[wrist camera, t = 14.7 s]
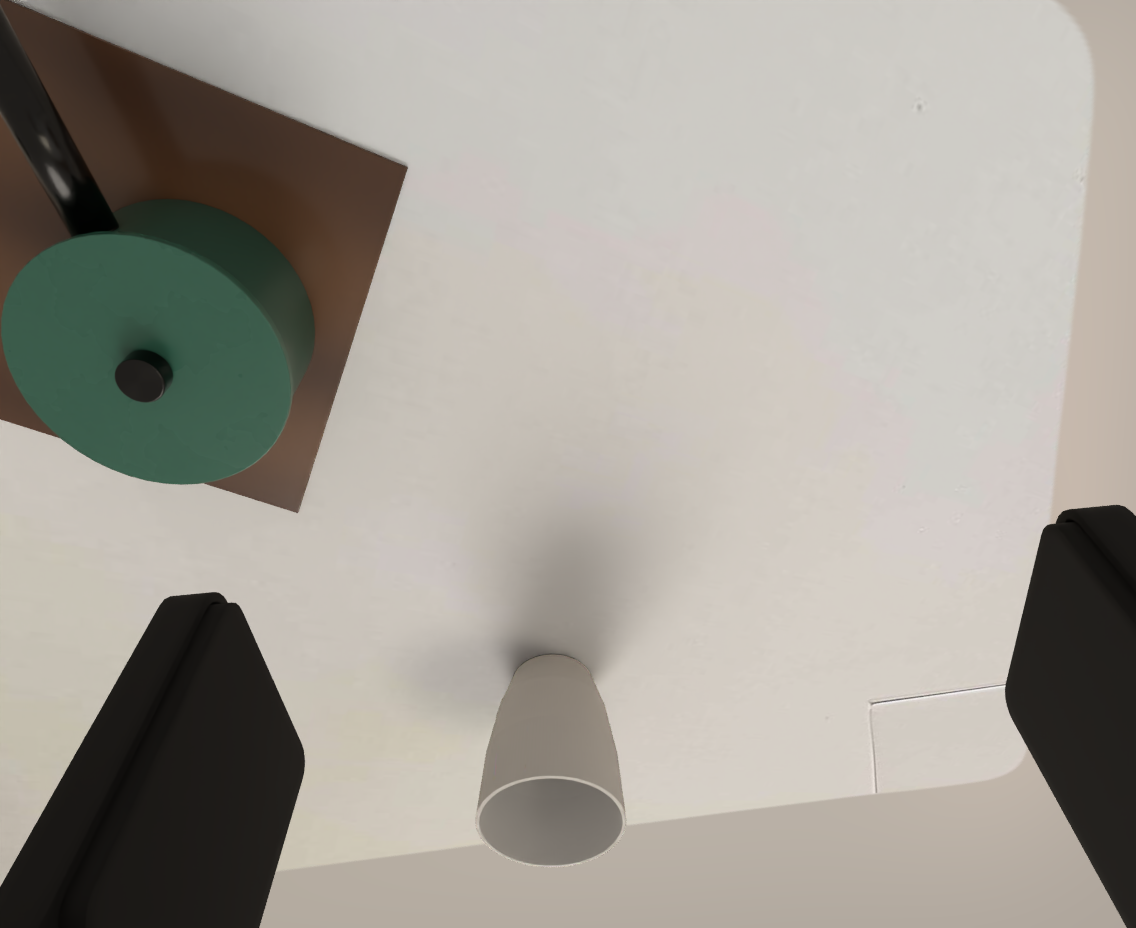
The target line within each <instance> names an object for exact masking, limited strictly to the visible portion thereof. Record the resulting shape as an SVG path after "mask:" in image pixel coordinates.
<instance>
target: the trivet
mask: <svg viewBox="0 0 1136 928" xmlns="http://www.w3.org/2000/svg"><path fill="white" fill-rule="evenodd" d="M0 5H1V7H2V9H3V11H4V13H5V15H6V16H7V18H8V20H9V22H10V24H11V26H12V27H13V29H14V31H15V33H16V35H17V37H18V39H19V40H20V42H21V44H22V46H23V48H24V50H25V51H26V53H27V55H28V57H29V59H30V61H31V63H32V64H33V66H34V68H35V70H36V72H37V74H38V76H39V77H40V79H41V81H42V83H43V85H44V87H45V88H46V90H47V92H48V94H49V96H50V98H51V100H52V101H53V103H54V105H55V107H56V109H57V111H58V112H59V114H60V116H61V118H62V120H63V122H64V124H65V125H66V127H67V129H68V131H69V133H70V135H71V137H72V138H73V140H74V142H75V144H76V146H77V148H78V149H79V151H80V153H81V155H82V157H83V159H84V161H85V162H86V164H87V166H88V168H89V170H90V172H91V174H92V175H93V177H94V179H95V181H96V183H97V185H98V186H99V188H100V190H101V192H102V194H103V196H104V198H105V199H106V201H107V203H108V205H109V207H110V209H111V210H112V212H115V211H117V210H119V209H121V208H123V207H126V206H128V205H131V204H134V203H137V202H143V201H148V200H155V199H176V200H187V201H192V202H196V203H201V204H205V205H208V206H211V207H214V208H217V209H220V210H222V211H224V212H226V213H228V214H231V215H233V216H235V217H237V218H238V219H240V220H242V221H243V222H245V223H247V224H248V225H250V226H252V227H253V228H254V229H256V230H257V231H258V232H260V233H261V234H262V235H264V236H265V237H266V238H267V239H268V240H269V241H270V242H271V243H272V244H273V245H274V246H276V247H277V248H278V249H279V251H280V252H281V253H282V254H283V255H284V256H285V258H286V259H287V260H288V261H289V263H290V264H291V266H292V267H293V268H294V270H295V271H296V273H297V274H298V276H299V278H300V280H301V282H302V284H303V286H304V288H305V290H306V292H307V295H308V298H309V301H310V303H311V307H312V312H313V316H314V325H315V341H314V349H313V354H312V358H311V361H310V363H309V366H308V368H307V371H306V373H305V374H304V376H303V378H302V380H301V382H300V384H299V386H298V388H297V389H296V391H295V393H294V395H293V397H292V404H291V409H290V413H289V416H288V419H287V422H286V424H285V427H284V429H283V431H282V433H281V434H280V436H279V437H278V439H277V441H276V442H275V444H274V445H273V446H272V447H271V449H270V450H269V451H268V452H267V453H266V454H265V455H264V456H263V457H262V458H261V459H259V460H258V461H257V462H256V463H255V464H253V465H251V466H250V467H248V468H246V469H245V470H243V471H241V472H239V473H237V474H234V475H232V476H230V477H227V478H223V479H220V480H216V481H213V482H206V483H204V484H207V485H210V486H214V487H217V488H220V489H223V490H226V491H230V492H233V493H236V494H239V495H242V496H245V497H249V498H252V499H255V500H258V501H261V502H264V503H268V504H271V505H274V506H277V507H280V508H283V509H287V510H290V511H293V512H296V513H298V511H299V508H300V505H301V502H302V499H303V496H304V493H305V489H306V486H307V483H308V480H309V477H310V474H311V471H312V467H313V464H314V461H315V458H316V455H317V452H318V449H319V445H320V442H321V439H322V436H323V433H324V430H325V427H326V423H327V420H328V417H329V414H330V411H331V408H332V405H333V401H334V398H335V395H336V392H337V389H338V386H339V383H340V379H341V376H342V373H343V370H344V367H345V364H346V361H347V357H348V354H349V351H350V348H351V345H352V342H353V338H354V335H355V332H356V329H357V326H358V323H359V320H360V316H361V313H362V310H363V307H364V304H365V301H366V298H367V294H368V291H369V288H370V285H371V282H372V279H373V276H374V272H375V269H376V266H377V263H378V260H379V257H380V254H381V250H382V247H383V244H384V241H385V238H386V235H387V232H388V228H389V225H390V222H391V219H392V216H393V213H394V210H395V206H396V203H397V200H398V197H399V194H400V191H401V187H402V184H403V181H404V178H405V175H406V172H407V169H408V167H406V166H403V165H401V164H399V163H396V162H394V161H391V160H389V159H387V158H384V157H382V156H380V155H377V154H375V153H372V152H370V151H368V150H365V149H363V148H360V147H358V146H356V145H353V144H351V143H348V142H346V141H344V140H341V139H339V138H337V137H334V136H332V135H329V134H327V133H325V132H322V131H320V130H317V129H315V128H313V127H310V126H308V125H306V124H303V123H301V122H298V121H296V120H294V119H291V118H289V117H286V116H284V115H282V114H279V113H277V112H274V111H272V110H270V109H267V108H265V107H263V106H260V105H258V104H255V103H253V102H251V101H248V100H246V99H243V98H241V97H239V96H236V95H234V94H232V93H229V92H227V91H224V90H222V89H220V88H217V87H215V86H212V85H210V84H208V83H205V82H203V81H200V80H198V79H196V78H193V77H191V76H189V75H186V74H184V73H181V72H179V71H177V70H174V69H172V68H169V67H167V66H165V65H162V64H160V63H158V62H155V61H153V60H150V59H148V58H146V57H143V56H141V55H138V54H136V53H134V52H131V51H129V50H126V49H124V48H122V47H119V46H117V45H115V44H112V43H110V42H107V41H105V40H103V39H100V38H98V37H95V36H93V35H91V34H88V33H86V32H84V31H81V30H79V29H76V28H74V27H72V26H69V25H67V24H64V23H62V22H60V21H57V20H55V19H53V18H50V17H48V16H45V15H43V14H41V13H38V12H36V11H33V10H31V9H29V8H26V7H24V6H21V5H19V4H17V3H14V2H12V1H10V0H0ZM68 238H71V236H70V234H69V233H68V231H67V229H66V227H65V226H64V224H63V222H62V220H61V219H60V217H59V215H58V214H57V212H56V210H55V208H54V207H53V205H52V203H51V201H50V200H49V198H48V196H47V194H46V193H45V191H44V189H43V188H42V186H41V184H40V182H39V181H38V179H37V177H36V175H35V174H34V172H33V170H32V168H31V167H30V165H29V163H28V162H27V160H26V158H25V156H24V155H23V153H22V151H21V149H20V148H19V146H18V144H17V142H16V141H15V139H14V137H13V136H12V134H11V132H10V130H9V129H8V127H7V125H6V123H5V122H4V120H3V118H2V116H1V115H0V419H1V420H4V421H7V422H11V423H14V424H17V425H20V426H23V427H27V428H30V429H33V430H36V431H39V432H42V433H46V434H49V435H52V436H55V437H58V438H60V437H59V436H58V435H57V434H55V433H54V432H53V431H52V430H51V429H50V428H49V427H48V426H47V425H46V424H45V423H44V422H43V421H42V420H41V419H40V418H39V417H38V416H37V414H36V413H35V412H34V411H33V409H32V408H31V407H30V405H29V404H28V403H27V401H26V400H25V398H24V397H23V395H22V393H21V392H20V390H19V388H18V387H17V385H16V383H15V381H14V379H13V377H12V374H11V372H10V370H9V367H8V364H7V361H6V358H5V354H4V350H3V344H2V337H1V317H2V311H3V305H4V301H5V298H6V296H7V293H8V290H9V288H10V286H11V284H12V282H13V281H14V279H15V277H16V276H17V274H18V273H19V272H20V271H21V270H22V268H23V267H24V266H25V265H26V264H27V263H28V262H29V261H30V260H31V259H33V258H34V257H35V256H36V255H38V254H39V253H40V252H42V251H43V250H45V249H46V248H48V247H50V246H52V245H54V244H56V243H57V242H59V241H62V240H65V239H68Z"/></svg>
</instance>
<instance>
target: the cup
mask: <svg viewBox="0 0 1136 928" xmlns="http://www.w3.org/2000/svg"><path fill="white" fill-rule="evenodd" d="M625 828H626V814H625V807H624V799H623V792H622V785H621V777H620V770H619V763H618V755H617V750H616V747H615V743H614V739H613V735H612V731H611V728H610V724H609V720H608V716H607V713H606V709H605V705H604V702H603V700H602V698H601V696H600V694H599V692H598V689H597V687H596V685H595V683H594V681H593V679H592V676H591V674H590V672H589V671H588V669H587V668H586V667H585V666H584V665H583V664H582V663H580V662H579V661H577V660H575V659H573V658H570V657H567V656H563V655H542V656H538V657H535V658H532V659H530V660H528V661H526V662H525V663H523V664H522V665H521V666H520V667H519V668H518V669H517V671H516V672H515V674H514V676H513V678H512V681H511V683H510V685H509V687H508V689H507V691H506V693H505V695H504V697H503V699H502V701H501V703H500V706H499V710H498V713H497V717H496V720H495V724H494V727H493V731H492V734H491V737H490V741H489V744H488V748H487V751H486V757H485V763H484V769H483V776H482V782H481V788H480V794H479V801H478V807H477V813H476V829H477V832H478V834H479V836H480V838H481V839H482V841H483V842H484V843H485V844H486V845H487V846H488V847H489V848H490V849H491V850H493V851H494V852H496V853H497V854H499V855H501V856H503V857H505V858H507V859H509V860H512V861H515V862H518V863H522V864H525V865H531V866H538V867H563V866H571V865H577V864H581V863H584V862H587V861H590V860H593V859H595V858H597V857H599V856H601V855H603V854H604V853H606V852H608V851H609V850H611V849H612V848H613V847H614V846H615V845H616V844H617V843H618V841H619V840H620V839H621V838H622V836H623V834H624V831H625Z"/></svg>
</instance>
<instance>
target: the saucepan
mask: <svg viewBox="0 0 1136 928" xmlns="http://www.w3.org/2000/svg"><path fill="white" fill-rule="evenodd" d="M0 115H1V116H2V118H3V120H4V122H5V123H6V125H7V127H8V129H9V130H10V132H11V134H12V136H13V137H14V139H15V141H16V142H17V144H18V146H19V148H20V149H21V151H22V153H23V155H24V156H25V158H26V160H27V162H28V163H29V165H30V167H31V168H32V170H33V172H34V174H35V175H36V177H37V179H38V181H39V182H40V184H41V186H42V188H43V189H44V191H45V193H46V194H47V196H48V198H49V200H50V201H51V203H52V205H53V207H54V208H55V210H56V212H57V214H58V215H59V217H60V219H61V220H62V222H63V224H64V226H65V227H66V229H67V231H68V233H69V234H70V236H71V238H68V239H65V240H62V241H59V242H57V243H56V244H54V245H52V246H50V247H48V248H46V249H45V250H43V251H42V252H40V253H39V254H38V255H36V256H35V257H34V258H33V259H31V260H30V261H29V262H28V263H27V264H26V265H25V266H24V267H23V268H22V270H21V271H20V272H19V273H18V274H17V276H16V277H15V279H14V281H13V282H12V284H11V286H10V288H9V290H8V293H7V296H6V298H5V301H4V305H3V311H2V317H1V337H2V344H3V350H4V354H5V358H6V361H7V364H8V367H9V370H10V372H11V374H12V377H13V379H14V381H15V383H16V385H17V387H18V388H19V390H20V392H21V393H22V395H23V397H24V398H25V400H26V401H27V403H28V404H29V405H30V407H31V408H32V409H33V411H34V412H35V413H36V414H37V416H38V417H39V418H40V419H41V420H42V421H43V422H44V423H45V424H46V425H47V426H48V427H49V428H50V429H51V430H52V431H53V432H54V433H55V434H57V435H58V436H59V437H60V438H61V439H62V440H63V441H65V442H66V443H67V444H69V445H70V446H72V447H73V448H74V449H76V450H77V451H79V452H80V453H82V454H84V455H85V456H87V457H89V458H90V459H92V460H94V461H95V462H97V463H100V464H102V465H104V466H106V467H108V468H110V469H112V470H115V471H118V472H120V473H123V474H126V475H128V476H132V477H136V478H139V479H143V480H147V481H153V482H159V483H166V484H200V483H206V482H213V481H216V480H220V479H223V478H227V477H230V476H232V475H234V474H237V473H239V472H241V471H243V470H245V469H246V468H248V467H250V466H251V465H253V464H255V463H256V462H257V461H258V460H259V459H261V458H262V457H263V456H264V455H265V454H266V453H267V452H268V451H269V450H270V449H271V447H272V446H273V445H274V444H275V442H276V441H277V439H278V437H279V436H280V434H281V433H282V431H283V429H284V427H285V424H286V422H287V419H288V416H289V413H290V409H291V404H292V397H293V395H294V393H295V391H296V389H297V388H298V386H299V384H300V382H301V380H302V378H303V376H304V374H305V373H306V371H307V368H308V366H309V363H310V361H311V358H312V354H313V349H314V341H315V325H314V316H313V312H312V307H311V303H310V301H309V298H308V295H307V292H306V290H305V288H304V286H303V284H302V282H301V280H300V278H299V276H298V274H297V273H296V271H295V270H294V268H293V267H292V266H291V264H290V263H289V261H288V260H287V259H286V258H285V256H284V255H283V254H282V253H281V252H280V251H279V249H278V248H277V247H276V246H274V245H273V244H272V243H271V242H270V241H269V240H268V239H267V238H266V237H265V236H264V235H262V234H261V233H260V232H258V231H257V230H256V229H254V228H253V227H252V226H250V225H248V224H247V223H245V222H243V221H242V220H240V219H238V218H237V217H235V216H233V215H231V214H228V213H226V212H224V211H222V210H220V209H217V208H214V207H211V206H208V205H205V204H201V203H196V202H192V201H187V200H176V199H155V200H148V201H143V202H137V203H134V204H131V205H128V206H126V207H123V208H121V209H119V210H117V211H115V212H112V210H111V209H110V207H109V205H108V203H107V201H106V199H105V198H104V196H103V194H102V192H101V190H100V188H99V186H98V185H97V183H96V181H95V179H94V177H93V175H92V174H91V172H90V170H89V168H88V166H87V164H86V162H85V161H84V159H83V157H82V155H81V153H80V151H79V149H78V148H77V146H76V144H75V142H74V140H73V138H72V137H71V135H70V133H69V131H68V129H67V127H66V125H65V124H64V122H63V120H62V118H61V116H60V114H59V112H58V111H57V109H56V107H55V105H54V103H53V101H52V100H51V98H50V96H49V94H48V92H47V90H46V88H45V87H44V85H43V83H42V81H41V79H40V77H39V76H38V74H37V72H36V70H35V68H34V66H33V64H32V63H31V61H30V59H29V57H28V55H27V53H26V51H25V50H24V48H23V46H22V44H21V42H20V40H19V39H18V37H17V35H16V33H15V31H14V29H13V27H12V26H11V24H10V22H9V20H8V18H7V16H6V15H5V13H4V11H3V9H2V7H1V5H0Z"/></svg>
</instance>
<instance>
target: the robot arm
mask: <svg viewBox="0 0 1136 928" xmlns="http://www.w3.org/2000/svg"><path fill="white" fill-rule="evenodd" d="M1005 698H1006V703H1007V707H1008V710H1009V713H1010V716H1011V718H1012V720H1013V722H1014V724H1015V725H1016V727H1017V729H1018V731H1019V733H1020V734H1021V736H1022V738H1023V740H1024V742H1025V743H1026V745H1027V747H1028V749H1029V751H1030V752H1031V754H1032V756H1033V758H1034V760H1035V761H1036V763H1037V765H1038V767H1039V769H1040V771H1041V772H1042V774H1043V776H1044V778H1045V780H1046V782H1047V783H1048V785H1049V787H1050V789H1051V791H1052V792H1053V794H1054V796H1055V798H1056V800H1057V802H1058V803H1059V805H1060V807H1061V809H1062V811H1063V813H1064V814H1065V816H1066V818H1067V820H1068V822H1069V823H1070V825H1071V827H1072V829H1073V831H1074V833H1075V834H1076V836H1077V838H1078V840H1079V842H1080V843H1081V845H1082V847H1083V849H1084V851H1085V853H1086V854H1087V856H1088V858H1089V860H1090V861H1091V863H1092V865H1093V867H1094V869H1095V871H1096V873H1097V874H1098V876H1099V878H1100V880H1101V882H1102V883H1103V885H1104V887H1105V889H1106V891H1107V892H1108V894H1109V896H1110V898H1111V900H1112V901H1113V903H1114V905H1115V907H1116V909H1117V910H1118V912H1119V914H1120V916H1121V918H1122V920H1123V922H1124V923H1125V925H1126V927H1127V928H1136V516H1135V515H1134V514H1133V513H1132V512H1131V511H1130V510H1128V509H1127V508H1126V507H1124V506H1120V505H1110V506H1100V507H1090V508H1080V509H1069V510H1066V511H1063V512H1062V513H1061V514H1060V515H1059V516H1058V519H1057V521H1056V524H1050V525H1047V526H1046V527H1045V528H1044V529H1043V532H1042V535H1041V539H1040V543H1039V547H1038V551H1037V555H1036V560H1035V564H1034V568H1033V572H1032V576H1031V581H1030V585H1029V589H1028V593H1027V597H1026V602H1025V606H1024V610H1023V614H1022V618H1021V623H1020V627H1019V631H1018V635H1017V639H1016V643H1015V648H1014V652H1013V656H1012V660H1011V664H1010V669H1009V673H1008V677H1007V681H1006V687H1005ZM304 767H305V756H304V750H303V747H302V744H301V741H300V739H299V737H298V735H297V732H296V730H295V728H294V726H293V724H292V721H291V719H290V717H289V715H288V712H287V710H286V708H285V706H284V703H283V701H282V699H281V697H280V694H279V692H278V690H277V688H276V685H275V683H274V681H273V679H272V677H271V674H270V672H269V670H268V668H267V665H266V663H265V661H264V659H263V656H262V654H261V652H260V650H259V647H258V645H257V643H256V641H255V638H254V636H253V634H252V632H251V630H250V627H249V625H248V623H247V621H246V618H245V616H244V614H243V612H242V610H241V608H240V606H239V605H237V604H236V603H227V601H226V599H225V598H224V596H222V595H221V594H220V593H216V592H211V593H200V594H190V595H180V596H170V597H168V598H166V599H164V601H163V602H162V603H161V605H160V606H159V608H158V609H157V611H156V613H155V615H154V616H153V618H152V620H151V622H150V623H149V625H148V627H147V629H146V631H145V632H144V634H143V636H142V638H141V639H140V641H139V643H138V645H137V646H136V648H135V650H134V652H133V653H132V655H131V657H130V659H129V661H128V662H127V664H126V666H125V668H124V669H123V671H122V673H121V675H120V676H119V678H118V680H117V682H116V684H115V685H114V687H113V689H112V691H111V692H110V694H109V696H108V698H107V699H106V701H105V703H104V705H103V707H102V708H101V710H100V712H99V714H98V715H97V717H96V719H95V721H94V722H93V724H92V726H91V728H90V729H89V731H88V733H87V735H86V736H85V738H84V740H83V742H82V743H81V745H80V747H79V749H78V751H77V752H76V754H75V756H74V758H73V759H72V761H71V763H70V765H69V766H68V768H67V770H66V772H65V773H64V775H63V777H62V779H61V781H60V782H59V784H58V786H57V788H56V789H55V791H54V793H53V795H52V796H51V798H50V800H49V802H48V804H47V805H46V807H45V809H44V811H43V812H42V814H41V816H40V818H39V819H38V821H37V823H36V825H35V826H34V828H33V830H32V832H31V834H30V835H29V837H28V839H27V841H26V842H25V844H24V846H23V848H22V849H21V851H20V853H19V855H18V857H17V858H16V860H15V862H14V864H13V865H12V867H11V869H10V871H9V872H8V874H7V876H6V878H5V879H4V881H3V883H2V885H1V887H0V928H259V926H260V923H261V919H262V916H263V913H264V909H265V906H266V902H267V899H268V895H269V892H270V889H271V885H272V881H273V878H274V875H275V871H276V868H277V865H278V861H279V858H280V854H281V851H282V848H283V844H284V841H285V837H286V834H287V830H288V827H289V824H290V820H291V817H292V813H293V810H294V806H295V803H296V800H297V796H298V793H299V789H300V786H301V783H302V779H303V775H304Z"/></svg>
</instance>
